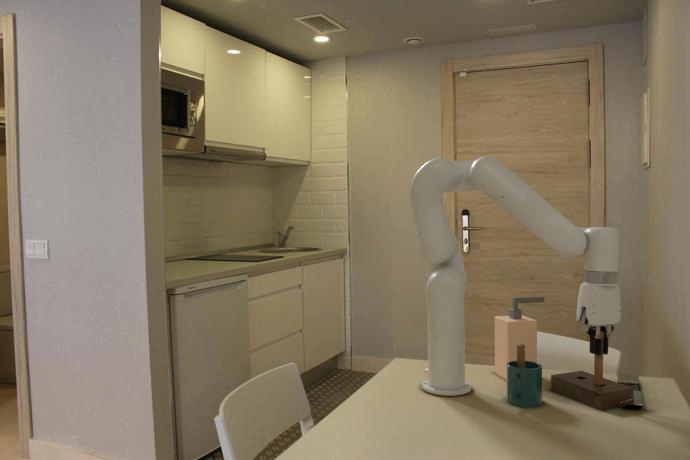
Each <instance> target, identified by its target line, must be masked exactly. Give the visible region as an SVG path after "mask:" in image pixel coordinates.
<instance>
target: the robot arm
mask: <svg viewBox="0 0 690 460" xmlns="http://www.w3.org/2000/svg"><path fill="white" fill-rule="evenodd" d="M480 191H481V192H482V193H483V194H484V195H486V197H488V198H489V199H490V200H491V201H493V202H494V203H495V204H496V205H497V206H499V207H500V208H501V209H502V210H503V211H504V212H506V214H508V215H509V216H510V217H512V218H513V219H514V220H515V221H516V222H518V223H520V224H521V225H523V226H524V227H526V228H527V229H528V230H529V231H530V232H532V233H533V234H534V235H535V236H536V237H538V238H539V239H540V240H541V241H542V242H544V243H545V244H546V245H547V246H548V247H549V248H551V249H552V250H553V251H554V252H555V253H556V254H557V255H559V256H560V257H563V258H566V259H574V258H577V257H579V256H581V255H583V282H582V283H580V286H579V290H578V295H577V304H576V317H575V319H576V322H577V323H579V324H578V329H579V330H581V331H584V332H585V333H586V334H587V337H589V353H590V354H592V355H594V356H595V355H601V354H602V339H600V331H603V332H604V338H603V355H606V356H607V355H609V339H611V337H612V333H613V331H614V330H616V329H617V328H619V327H620V321H621V316H622V301H621V300H622V299H621V290H620V285H619V283H618V282H619V279H618V278H620V277H619V276H620V274H619V247H620V246H619V244H620V241H619V239H620V235H619V230H617V228H615V227H611V226H610V227H609V226H590V227H581V226H576V225H575V224H574V223H573V222H572V221H571V220H569V219H568V218H567V217H565V215H564V214H562V213H561V212H560V211H559V210H558V209H556V208H555V207H554V206H553V205H552V204H550V203H549V202H548V201H547V200H545V198H543V196H542V195H541V194H540V193H539V192H538V191H536V190H535V189H534V188H533V187H531V186H530V185H529V184H528V183H527V182H525V181H524V180H523V179H521V178H520V177H519V176H518V175H517V174H516V173H515V172H513V171H512V170H510V168H508V167H507V166H506V165H505V164H504V163H502V162H501V161H500V160H499V159H497V157H494V156H490V155H483V156H479V157H478V158H476V159H471V160H470V159H469V160H449V159H447V158H444V157H436V158H431V159H430V160H428V161H426V162H425V163H424V164H422V166H421V167H420V168H419V169H418V170H417V171H416V173H414V175H413V178H412V180H411V183H410V187H409V203H410V208H411V213H412V217H413V223H414V228H415V231H416V232H415V233H416V237H417V241H418V247H419V252H420V254H421V256H422V258H423V259H424V260H425V261H427V264H428V265H427V266H428V269H429V272H430V276H429V277H428V279H427V283H426V286H425V287H426V288H425V298H426V314H427V367H426V368H425V369H424V373H425V374H427V379H425V380H424V381H422V383H421V388H422V390H423V391H425V392H427V393H428V394H429V393H430V394H432V395H437V396H444V397H445V396H446V397H448V396H449V397H452V396H453V397H455V396H462V395H465V394H468V393H470V392H471V391H472V385H471V383H470V382H468V381H466V325H465V324H466V321H465V319H466V316H465V292H466V291H467V287H468V277H467V273H466V269H465V268H466V267H465V264H464V263H465V262H464V259H463V255H462V250H461V247H460V243H459V239H458V237H457V235H456V234H455V232H453V230H452V229H450V225H449V222H448V217H447V212H446V208H445V207H446V206H445V205H444V199H443V195H444V193H459V192H460V193H461V192H464V193H465V192H480Z"/></svg>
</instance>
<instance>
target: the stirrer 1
mask: <svg viewBox="0 0 690 460" xmlns="http://www.w3.org/2000/svg"><path fill="white" fill-rule="evenodd" d="M517 368H522V369H525V345H523V344H518V345H517Z"/></svg>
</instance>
